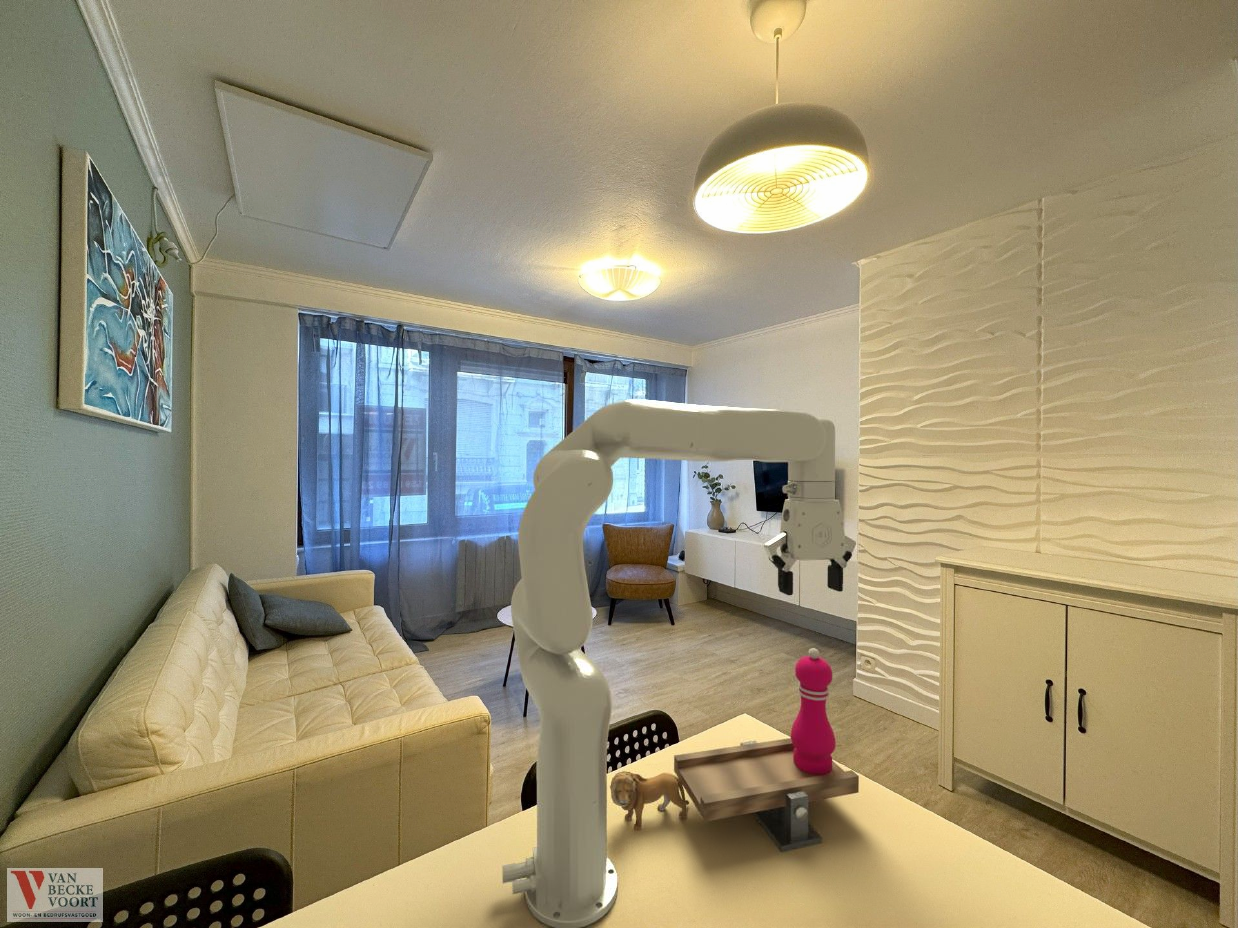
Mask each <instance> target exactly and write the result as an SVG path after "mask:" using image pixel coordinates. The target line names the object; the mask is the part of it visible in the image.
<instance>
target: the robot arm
mask: <svg viewBox="0 0 1238 928" xmlns="http://www.w3.org/2000/svg"><path fill="white" fill-rule="evenodd" d="M621 458H625V459H627V458H628V459H629V458H630V459H648V460H668V461H669V460H670V461H685V462H686V461H689V462H711V463H712V462H718V463H719V462H731V461H747V460H748V461H751V460H753V461H757V462H762V463H787V464H788V465H787V474H788V475H787V476H788V480H787V484H786V485H785V484H784V485H782V493H783V494H787V497H788V498H787V499H785V500H784V503H783V506H782V507H783V508H782V512H781V521H780V530H779V531H780V533H779V534H778V535H777V536H775V537H774V538H772V539H771V540H769V541H768V542H766V543H764V544H763V549H764V550H765V552H766V555H767V556H768V560H769V561H770V562H771V563H772V564H773V565H774V567H775V569H777V587H778V591H779V592H780V593H781V594H784V595H785V596H786V595H787V596H792V595H793V594H794V572H793V571H791V569H792V567H793V566H794V565H795V563H796V562H797V561H801V562H802V561H803V562H805V561H807V562H808V561H821V560H822V561H824V560H825V561H826V560H828V562H829V563H830V564H828V565H827V581H826V582H827V588H829V589H831V590H833V591H836V592H843V590H844V569H846V568H847V565H848V562H849V561H850V560H851V559H852V557H853V553H854V550H855V548H856V545H857V541H855V540H854V539H853V538H850V537H849V536H847V535H845V534H846V533H845V524H844V523H845V522H844V516H843V512H842V511H843V510H842V506H841V503H840V500H839V499H836V426H835V424H834V422H833V421H832V420H830V419H826V418H817V417H816V416H814V415H812V414H809V413H806V412H799V411H790V410H779V409H766V408H764V409H763V408H746V407H745V408H743V407H733V406H732V407H729V406H715V405H713V406H712V405H700V404H699V405H698V404H691V403H689V404H688V403H679V402H678V403H677V402H670V401H660V400H653V399H652V400H649V399H638V398H637V399H636V398H635V399H625V400H622V401H618V402H615V403H610V404H607V405H604V406H603V407H600V408H598V410H596V411H595V412H594V413H593V414H591V415H589V417H588V418H586V419H585V420H584V421H583V422H582V423H581V424H579V426H577V427H576V428H575V429H574V430H573V431H572V432H570V433H568V435H567V436H566V437H564V438H563V439H562V440H561V441H559V442H558V443H557V444H556V445H554V447H552V448H551V449H550V450H549V451H548V452H546V453H545V454H544V456H542V457H541V458H540V460H539V462H538V463H537V465H536V466H535V469H534V472H533V476H532V477H533V486H534V487H533V488H534V490H533V492H532V494H531V495H530V497H529V499H528V501H527V503H526V505H525V507H524V510H523V512H522V515H521V518H520V522H519V527H518V534H517V535H518V537H517V543H518V556H519V563H520V576H521V578H520V580H519V581H518V582H517V584H516V585H515V588H514V589H513V593H512V596H511V601H510V602H511V603H510V612H511V620H512V626H513V627H512V629H513V633H514V634H513V635H514V639H515V645H516V651H517V658H518V665H519V668H520V669H519V670H520V674H521V678H522V682H523V684H524V686H525V688H526V691H527V693H528V694H529V695H530V697H531V698H532V701H533V703H534V705H535V707H536V708H537V710H538V715H539V717H540V719H539V720H540V730H539V739H538V745H537V749H536V750H537V752H536V847H535V846H534V847H533V848H532V856H531V857H527V858H526V857H525V861H522V862H518V863H510V864H503V865H502V868H501V870H502V871H501V873H502V874H501V875H502V884H507V883H511V885H512V886H511V887H512V895H516V894H520V893H523V892H524V893H525V896H524V897H525V902H526V905H527V907H528V910H529V911H530V913H531V914H532V916H533V917H535V918H536V919H537V920H538V921H539V922H541V923H543V924H545V925H546V926H549V927H552V928H584V927H586V926H590V925H591V924H594V923H595V922H597V921H598V920H600V919H601V918H603V917H604V916H605V915H606V914H607V913H608V912H609V910H610V909H611V908H612V907H613V905H614V903H615V901H616V899H617V896H618V890H619V878H618V872H617V870H616V866H615V865H614V864H613V862H612V860H611V859H610V858H609V857H608V854H607V850H608V849H607V848H608V844H607V843H608V841H607V840H608V839H607V837H608V836H607V835H608V831H607V830H608V829H607V827H608V825H607V823H608V820H607V819H608V818H607V817H608V814H607V813H608V810H607V808H608V803H607V802H608V796H607V795H608V793H607V792H608V788H607V787H608V786H607V785H608V774H607V768H608V767H607V760H608V759H607V758H608V757H607V755H608V737H609V731H610V729H609V728H610V724H611V720H612V719H611V718H612V713H613V694H612V690H611V687H610V684H609V681H608V680H607V677H606V676H605V674H604V672H603V671H602V670H601V669H600V667H599V666H598V665H597V664H596V663H595V662H594V661H593V660H592V658H590V657H589V656H588V655H586V654H585V653H584V652H583V651H582V650H581V648H582V647H583V646H584V645H585V644H586V643H587V642H588V640H589V637H590V635H591V633H592V629H593V622H594V621H593V614H594V613H593V608H592V603H591V597H590V590H589V586H588V585H589V584H588V579H587V573H586V565H585V558H584V557H585V556H584V555H585V554H584V535H585V531H586V529H587V525H588V523H589V522H590V520H591V518H592V517H593V515H594V514H595V513H596V512H597V511H598V510H599V509H600V508H601V507H602V506H603V504H604V503H605V502H606V501H607V499H608V498H609V497H610V495H611V492H612V490H613V485H614V473H613V469H612V467H613V466H614V465H615V464H616V462H617V461H619V460H620V459H621ZM778 548H779V550H780V555H778V550H777V549H778Z"/></svg>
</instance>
